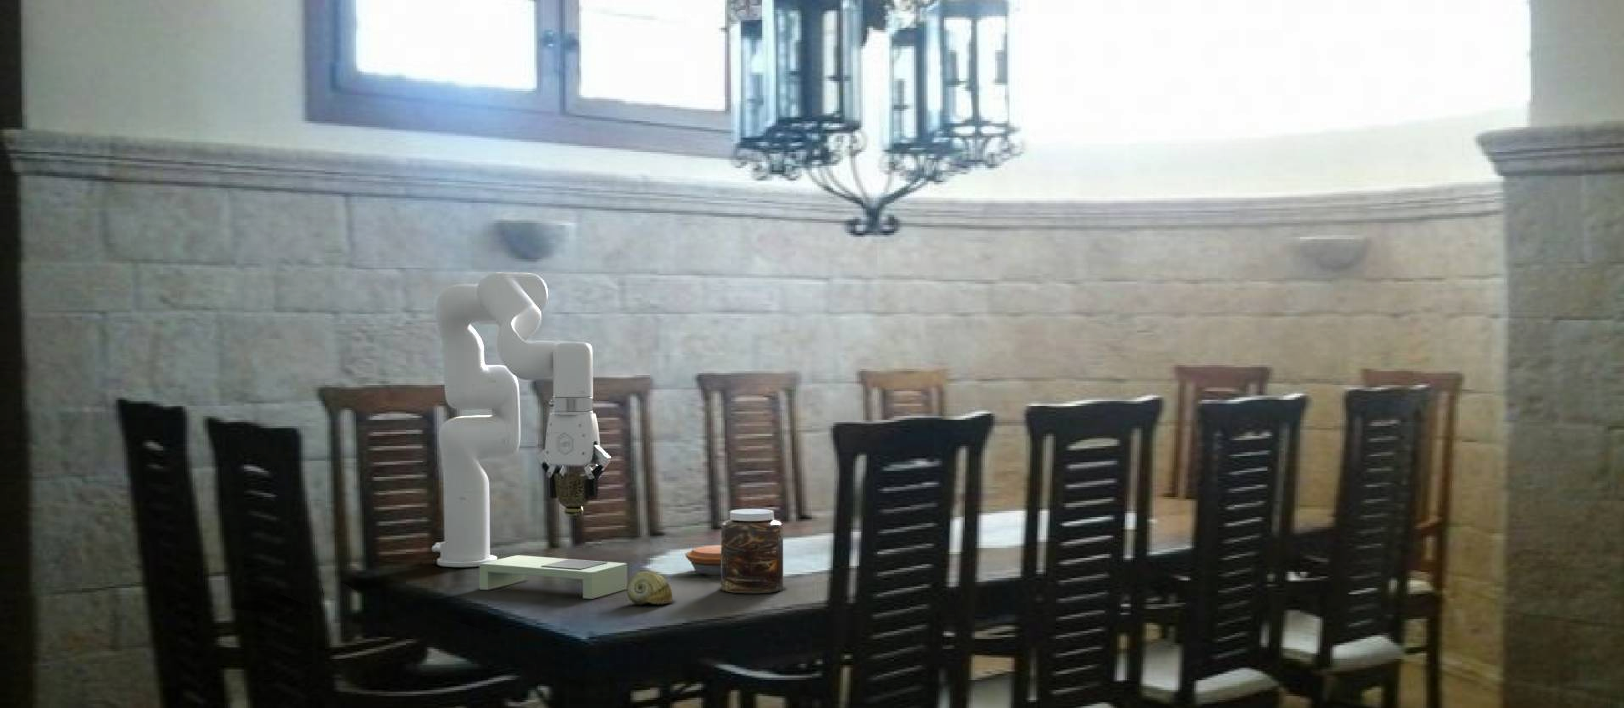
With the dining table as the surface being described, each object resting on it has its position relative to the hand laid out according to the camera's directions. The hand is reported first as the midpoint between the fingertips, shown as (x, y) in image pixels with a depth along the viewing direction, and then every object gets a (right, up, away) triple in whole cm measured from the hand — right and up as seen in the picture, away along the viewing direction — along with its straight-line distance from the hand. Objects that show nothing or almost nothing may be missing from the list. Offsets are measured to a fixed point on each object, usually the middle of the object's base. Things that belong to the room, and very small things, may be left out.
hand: (573, 497), depth 291 cm
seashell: (+16, -18, -14) cm, 28 cm away
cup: (0, -3, 0) cm, 3 cm away
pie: (+27, -18, +23) cm, 40 cm away
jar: (+34, -18, +1) cm, 39 cm away
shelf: (-4, -18, +2) cm, 18 cm away
